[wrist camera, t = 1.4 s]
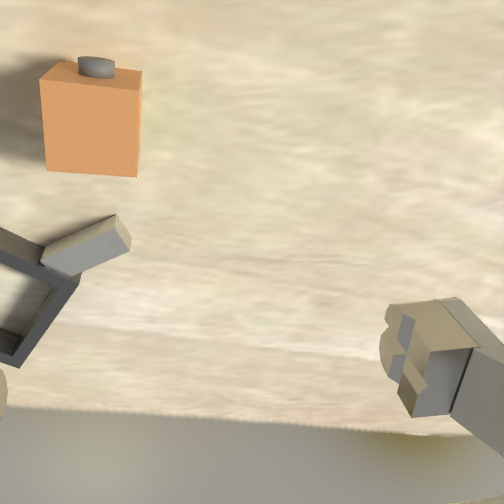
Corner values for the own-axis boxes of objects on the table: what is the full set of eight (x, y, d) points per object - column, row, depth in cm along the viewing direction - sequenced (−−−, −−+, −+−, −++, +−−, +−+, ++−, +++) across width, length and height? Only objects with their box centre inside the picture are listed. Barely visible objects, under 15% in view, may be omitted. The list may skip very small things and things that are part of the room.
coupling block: (65, 150, 31) (47, 183, 26) (59, 46, 27) (37, 62, 22) (139, 156, 32) (136, 189, 27) (142, 58, 28) (139, 75, 23)
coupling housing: (-128, 291, 33) (-147, 312, 31) (-45, 125, 28) (-60, 137, 26) (45, 354, 39) (39, 375, 37) (138, 226, 35) (137, 242, 32)
